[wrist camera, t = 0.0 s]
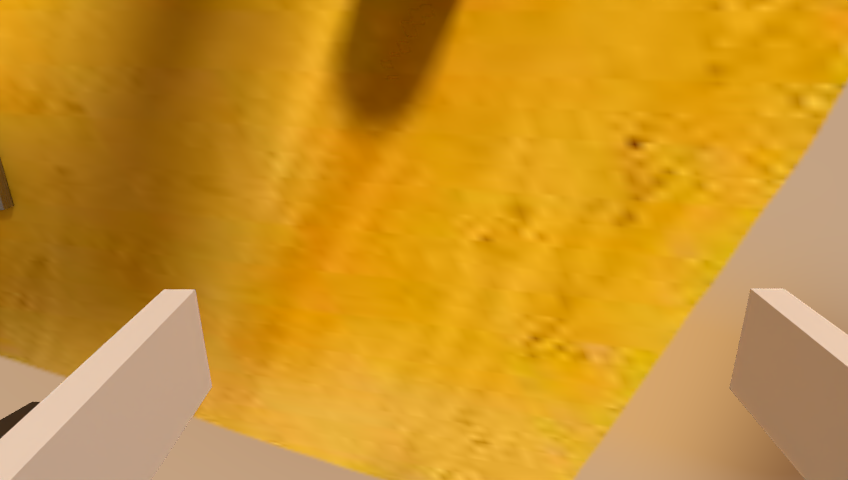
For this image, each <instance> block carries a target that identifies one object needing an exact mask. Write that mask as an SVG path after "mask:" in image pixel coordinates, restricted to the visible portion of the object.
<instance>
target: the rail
mask: <svg viewBox="0 0 848 480" xmlns="http://www.w3.org/2000/svg"><path fill="white" fill-rule="evenodd" d="M12 206H14V205H13V202H12V198H11V194H10V191H9V187H8V184H7V180H6V177H5V173H4V170H3V166H2V163H1V159H0V210H5V209H7V208H10V207H12Z"/></svg>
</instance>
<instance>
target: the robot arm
mask: <svg viewBox="0 0 848 480" xmlns="http://www.w3.org/2000/svg"><path fill="white" fill-rule="evenodd" d="M211 387H212V383H211V377H210V371H209V366H208V360H207V354H206V348H205V342H204V337H203V331H202V325H201V319H200V314H199V308H198V302H197V296H196V290H195V289H164V290H163V291H162V292H161V293H159V294H158V295H157V296H156V297H155V298H154V299H153V300H152V301H151V302H150V303H149V304H147V305H146V306H145V307H144V308H143V309H142V310H141V311H140V312H139V313H138V314H136V315H135V316H134V317H133V318H132V319H131V320H130V321H129V322H128V323H127V324H125V325H124V326H123V327H122V328H121V329H120V330H119V331H118V332H117V333H116V334H115V335H113V336H112V337H111V338H110V339H109V340H108V341H107V342H106V343H105V344H104V345H102V346H101V347H100V348H99V349H98V350H97V351H96V352H95V353H94V354H93V355H92V356H90V357H89V358H88V359H87V360H86V361H85V362H84V363H83V364H82V365H81V366H79V367H78V368H77V369H76V370H75V371H74V372H73V373H72V374H71V375H70V376H69V377H67V378H66V379H65V380H64V381H63V382H62V383H61V384H60V385H59V386H58V387H57V388H55V389H54V390H53V391H52V392H51V393H50V394H49V395H48V396H47V397H46V398H45V399H43V401H41V402H31V403H29V404H28V405H26V406H24V407H22V408H21V409H19V410H17V411H15V412H14V413H12V414H10V415H9V416H7V417H5V418H3V419H1V420H0V480H151V479H152V478H153V476H154V475H155V473H156V472H157V470H158V469H159V467H160V466H161V464H162V463H163V461H164V460H165V458H166V457H167V455H168V453H169V452H170V450H171V449H172V447H173V446H174V444H175V443H176V441H177V440H178V438H179V437H180V435H181V434H182V432H183V430H184V429H185V427H186V425H187V424H188V423H189V421H190V420H191V418H192V417H193V415H194V414H195V412H196V411H197V409H198V407H199V406H200V404H201V403H202V401H203V400H204V398H205V397H206V395H207V394H208V392H209V391H210V389H211ZM730 390H731V391H732V392H733V393H734V394H735V396H736V397H737V398H738V399H739V400H740V402H741V403H742V404H743V405H744V406H745V408H746V409H747V410H748V411H749V413H750V414H751V415H752V416H753V417H754V419H755V420H756V421H757V422H758V423H759V425H760V426H761V427H762V428H763V429H764V431H765V432H766V433H767V434H768V435H769V437H770V438H771V439H772V440H773V442H775V444H776V445H777V446H778V448H779V449H780V450H781V451H782V452H783V453H784V455H785V456H786V457H787V458H788V460H789V461H790V462H791V463H792V464H793V466H794V467H795V468H796V469H797V470H798V472H799V473H800V474H801V475H802V476H803V478H804V479H805V480H848V335H847V334H846V333H844V332H843V331H842V330H840V329H839V328H837V327H836V326H835V325H833V324H832V323H831V322H829V321H827V319H825V318H824V317H822V316H821V315H819V314H818V313H817V312H815V311H814V310H813V309H811V308H810V307H809V306H807V305H806V304H804V303H803V302H802V301H800V300H799V299H797V298H796V297H795V296H793V295H792V294H791V293H789V292H788V291H787V290H785V289H750V294H749V299H748V303H747V308H746V313H745V317H744V322H743V327H742V332H741V337H740V341H739V346H738V351H737V355H736V360H735V365H734V370H733V374H732V379H731V384H730Z"/></svg>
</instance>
